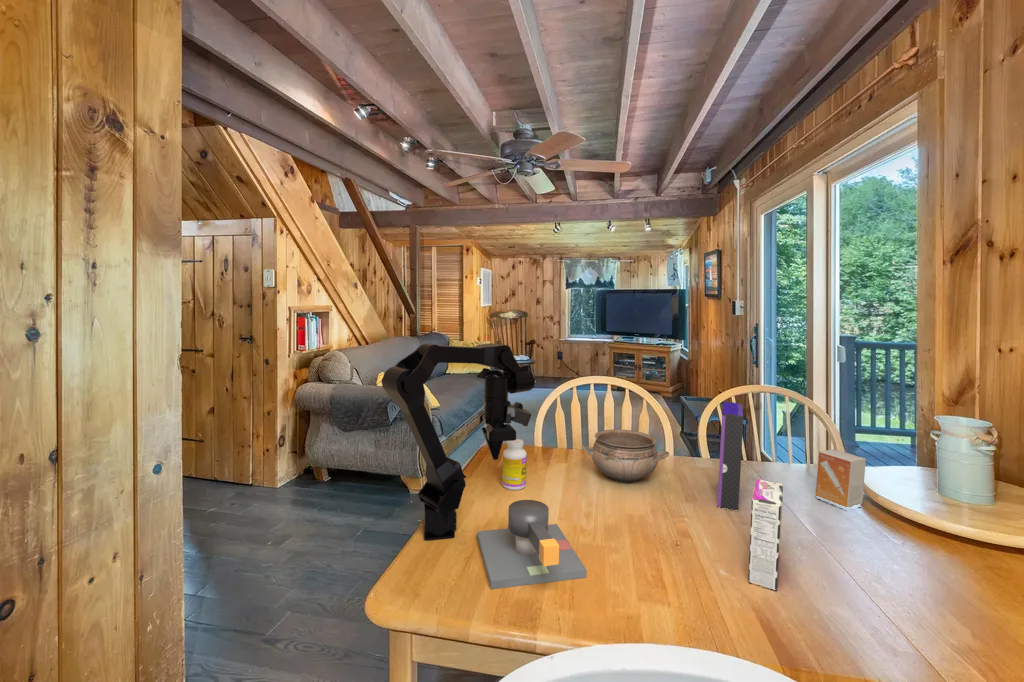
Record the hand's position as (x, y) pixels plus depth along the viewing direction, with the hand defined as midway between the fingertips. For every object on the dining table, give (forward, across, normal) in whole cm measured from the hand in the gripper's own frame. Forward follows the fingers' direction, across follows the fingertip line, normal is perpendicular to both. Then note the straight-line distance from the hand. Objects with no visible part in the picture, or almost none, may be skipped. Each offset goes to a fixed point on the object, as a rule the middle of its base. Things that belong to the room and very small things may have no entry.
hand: (495, 459), depth 110 cm
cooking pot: (+13, +14, -41) cm, 45 cm away
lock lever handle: (+7, -26, -3) cm, 27 cm away
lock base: (+13, -21, -3) cm, 25 cm away
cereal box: (+13, -3, -63) cm, 64 cm away
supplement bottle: (+13, +14, -8) cm, 21 cm away
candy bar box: (+13, -35, -46) cm, 59 cm away
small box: (+13, -12, -89) cm, 91 cm away
